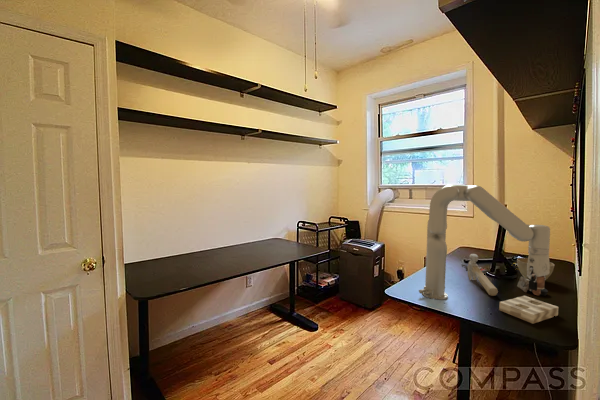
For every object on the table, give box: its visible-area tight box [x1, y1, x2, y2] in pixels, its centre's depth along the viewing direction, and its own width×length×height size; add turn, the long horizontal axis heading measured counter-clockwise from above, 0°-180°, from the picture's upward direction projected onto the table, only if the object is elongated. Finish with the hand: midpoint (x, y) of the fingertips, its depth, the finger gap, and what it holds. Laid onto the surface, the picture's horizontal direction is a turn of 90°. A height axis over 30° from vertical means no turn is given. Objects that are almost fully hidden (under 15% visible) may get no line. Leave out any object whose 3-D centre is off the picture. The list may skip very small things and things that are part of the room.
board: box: [498, 295, 559, 324], centre depth 133 cm, size 20×14×4 cm
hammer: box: [467, 253, 499, 297], centre depth 167 cm, size 16×5×30 cm
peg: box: [532, 274, 546, 296], centre depth 134 cm, size 6×6×9 cm
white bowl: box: [516, 257, 555, 280], centre depth 178 cm, size 18×18×12 cm
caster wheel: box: [516, 275, 549, 297], centre depth 159 cm, size 7×11×10 cm
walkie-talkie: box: [461, 263, 489, 275], centre depth 197 cm, size 9×4×20 cm
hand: (536, 288), depth 134 cm, fingers closed on peg, 5 cm apart
